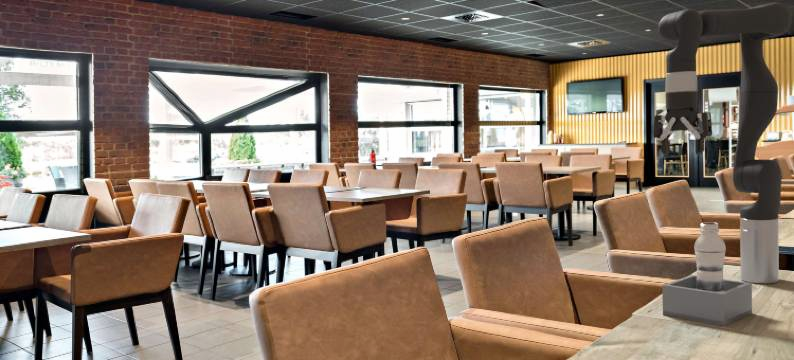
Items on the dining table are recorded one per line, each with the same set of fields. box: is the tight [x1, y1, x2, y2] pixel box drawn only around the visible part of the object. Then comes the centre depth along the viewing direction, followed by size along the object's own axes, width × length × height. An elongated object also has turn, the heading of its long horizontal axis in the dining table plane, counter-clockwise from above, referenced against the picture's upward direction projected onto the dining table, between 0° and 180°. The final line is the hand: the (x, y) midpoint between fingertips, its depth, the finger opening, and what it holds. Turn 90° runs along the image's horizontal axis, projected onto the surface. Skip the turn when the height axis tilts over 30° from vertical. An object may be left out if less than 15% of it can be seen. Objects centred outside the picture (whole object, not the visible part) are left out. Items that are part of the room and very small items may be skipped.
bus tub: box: [661, 274, 753, 327], centre depth 154 cm, size 14×14×7 cm
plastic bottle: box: [693, 221, 727, 293], centre depth 154 cm, size 6×7×20 cm
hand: (682, 154), depth 172 cm, fingers open, 8 cm apart
